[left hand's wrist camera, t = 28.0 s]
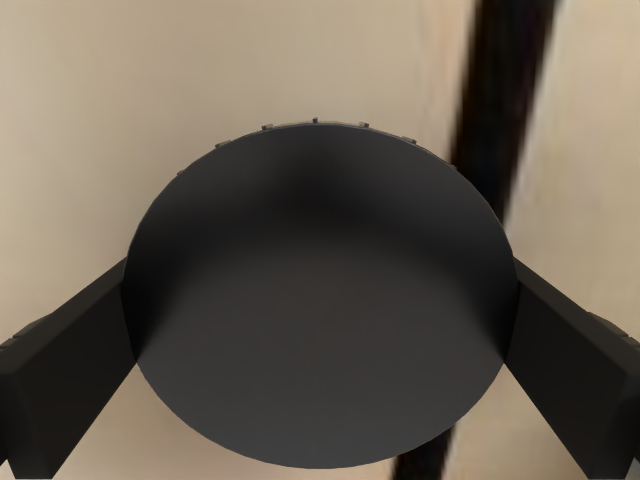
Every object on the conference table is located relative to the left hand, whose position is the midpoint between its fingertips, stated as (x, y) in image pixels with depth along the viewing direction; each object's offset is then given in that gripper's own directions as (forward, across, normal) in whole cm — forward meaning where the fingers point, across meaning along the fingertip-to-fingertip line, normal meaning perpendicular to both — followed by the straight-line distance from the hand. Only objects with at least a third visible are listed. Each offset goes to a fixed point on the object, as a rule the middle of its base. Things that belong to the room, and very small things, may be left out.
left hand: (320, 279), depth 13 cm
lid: (-3, 0, 0) cm, 3 cm away
